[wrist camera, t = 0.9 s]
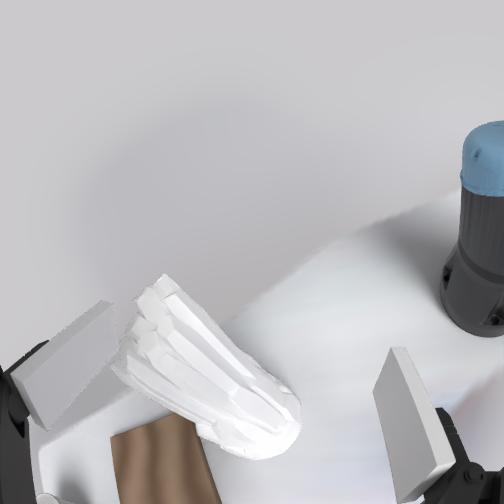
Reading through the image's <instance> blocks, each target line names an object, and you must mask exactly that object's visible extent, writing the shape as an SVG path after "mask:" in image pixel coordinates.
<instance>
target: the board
mask: <svg viewBox="0 0 504 504" xmlns="http://www.w3.org/2000/svg"><path fill="white" fill-rule="evenodd" d="M110 440H111V449H112V457H113V464H114V471H115V477H116V483H117V489H118V494H119V499H120V504H222V502H221V500H220V497H219V494H218V492H217V489H216V486H215V483H214V480H213V477H212V475H211V472H210V469H209V466H208V463H207V459H206V456H205V453H204V450H203V447H202V443H201V440H200V437H199V436H198V435H197V430H196V423H194V422H192V421H190V420H188V419H186V418H185V417H183V416H181V415H179V414H177V413H174V414H171V415H169V416H167V417H164V418H162V419H159V420H157V421H154V422H152V423H149V424H146V425H144V426H141V427H138V428H136V429H133V430H130V431H127V432H124V433H121V434H118V435H116V436H112V437H110Z"/></svg>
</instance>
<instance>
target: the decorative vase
mask: <svg viewBox="0 0 504 504" xmlns="http://www.w3.org/2000/svg"><path fill="white" fill-rule="evenodd" d="M133 302H134V304H135V305H136V307H137V308H138V310H139V312H138V313H136V315H135V316H134V317H133V318H132V319H131V321H130V322H129V324H128V327H127V330H126V332H125V333H126V336H125V337H124V338H123V339H122V340H121V341H120V342H119V346H120V356H121V360H117V361H114V362H112V363H111V364H109V366H110V368H111V369H112V370H113V371H114V373H115V374H116V375H117V376H118V377H119V378H120V380H121V381H123V382H124V383H126V384H127V385H129V386H130V387H132V388H134V389H135V390H137V391H138V392H140V393H142V394H143V395H145V396H147V397H148V398H150V399H152V400H154V401H155V402H157V403H159V404H161V405H162V406H164V407H166V408H168V409H170V410H171V411H173V412H175V413H177V414H179V415H181V416H183V417H185V418H186V419H188V420H190V421H192V422H194V423H196V430H197V435H198V436H200V437H202V438H204V439H207V440H209V441H212V442H215V443H217V444H218V445H219V446H220V448H222V449H224V450H225V451H227V452H229V453H231V454H234V455H237V456H240V457H243V458H247V459H256V460H261V459H267V458H270V457H273V456H276V455H279V454H282V453H284V451H286V450H287V449H288V448H289V447H290V446H291V445H292V443H293V442H294V441H295V440H296V438H297V436H298V435H299V433H300V431H301V428H302V409H301V403H300V401H299V399H298V398H297V397H296V396H295V395H294V394H293V393H292V391H291V390H290V389H289V388H288V387H287V386H286V385H285V384H284V383H282V382H281V381H280V380H279V379H277V378H275V377H274V376H272V375H271V374H269V373H267V372H266V371H264V370H263V369H262V368H261V367H260V366H259V364H258V363H257V362H256V361H255V360H254V359H253V358H252V357H251V356H250V355H248V354H247V353H245V352H244V351H242V350H241V349H239V348H238V347H237V346H236V345H235V344H234V343H233V342H232V341H231V340H230V338H229V337H228V336H227V335H226V334H225V333H224V332H223V331H222V329H221V328H220V327H219V326H218V325H217V324H216V323H215V322H214V320H213V319H212V318H211V317H210V316H209V315H208V313H207V312H206V311H205V310H204V309H203V308H202V307H201V306H199V305H198V304H197V303H196V302H194V301H193V300H192V299H191V298H190V297H189V296H188V295H187V294H186V293H185V292H184V291H183V290H182V289H181V288H180V287H179V286H178V285H177V284H176V283H175V282H174V281H173V280H172V279H171V278H170V277H169V276H167V275H166V274H163V275H162V276H161V277H160V278H159V279H158V280H157V282H156V283H155V284H153V285H150V287H146V288H145V289H144V290H143V291H142V292H141V294H140V295H139V296H137V297H135V298H133Z"/></svg>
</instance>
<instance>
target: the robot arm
mask: <svg viewBox="0 0 504 504" xmlns="http://www.w3.org/2000/svg"><path fill="white" fill-rule="evenodd" d="M460 178H461V183H462V191H461V214H460V227H459V238H458V242H457V243H456V245H455V247H454V249H453V251H452V252H451V254H450V256H449V258H448V259H447V261H446V263H445V265H444V268H443V272H442V278H441V285H440V294H441V299H442V303H443V306H444V308H445V310H446V312H447V313H448V315H449V316H450V318H451V319H452V320H453V321H454V322H455V323H456V324H457V325H458V326H459V327H461V328H462V329H463V330H465V331H467V332H469V333H471V334H473V335H477V336H481V337H498V336H502V335H504V121H496V122H490V123H487V124H484V125H481V126H479V127H477V128H475V129H474V130H472V131H471V132H470V133H469V135H468V136H467V137H466V139H465V141H464V145H463V157H462V170H461V173H460ZM119 349H120V346H119V340H118V334H117V328H116V320H115V313H114V305H113V303H110V302H105V301H100V302H98V303H97V304H96V305H95V306H93V307H92V308H91V309H90V310H88V311H87V312H85V313H84V314H83V315H82V316H80V317H79V318H78V319H76V320H75V321H74V322H73V323H71V324H70V325H69V326H67V327H66V328H65V329H64V330H62V331H61V332H60V333H59V334H58V335H56V336H55V337H54V338H52V339H51V340H50V341H49V340H47V341H44V342H42V343H40V344H38V345H37V346H35V347H34V348H33V349H32V350H31V351H29V352H28V353H27V354H25V356H23V357H22V358H21V359H19V360H18V361H17V362H16V363H15V364H13V365H12V366H11V367H10V368H9V369H7V370H6V371H5V372H3V370H2V368H1V366H0V504H37V501H36V496H35V490H34V483H33V476H32V467H31V457H30V441H29V422H28V419H27V417H28V416H29V415H31V416H32V418H33V420H34V422H35V423H36V424H37V425H39V426H40V427H42V428H43V429H45V430H46V431H49V430H50V428H51V427H52V426H53V425H54V423H55V422H56V421H57V420H58V419H59V418H60V416H61V415H62V414H63V413H64V412H65V411H66V409H67V408H68V407H69V406H70V405H71V404H72V402H73V401H74V400H75V399H76V398H77V397H78V395H79V394H80V393H81V392H82V391H83V390H84V389H85V387H86V386H87V385H88V384H89V383H90V382H91V381H92V379H93V378H94V377H95V376H96V375H97V374H98V373H99V372H100V370H101V369H102V368H103V367H104V366H105V365H106V364H107V363H108V361H109V360H110V359H111V358H112V357H113V356H114V355H115V354H116V353H117V351H118V350H119ZM373 395H374V399H375V403H376V406H377V410H378V414H379V418H380V422H381V427H382V431H383V435H384V439H385V444H386V448H387V453H388V458H389V462H390V467H391V472H392V478H393V483H394V489H395V494H396V500H397V504H401V503H407V502H412V501H415V500H417V499H418V498H419V497H420V496H421V495H422V494H424V499H425V500H424V501H423V502H422V503H421V504H504V467H503V468H502V469H501V470H500V471H498V472H496V471H495V472H494V471H484V469H483V468H482V466H480V465H479V464H477V463H474V462H470V461H469V459H468V456H467V454H466V451H465V449H464V447H463V444H462V442H461V440H460V437H459V435H458V434H457V430H456V429H455V427H454V424H453V421H452V419H451V417H450V415H449V414H448V413H447V412H446V411H445V410H444V409H443V408H442V407H441V408H434V406H433V403H432V401H431V399H430V397H429V395H428V393H427V390H426V388H425V386H424V384H423V382H422V380H421V378H420V376H419V374H418V372H417V370H416V368H415V366H414V364H413V362H412V360H411V358H410V356H409V354H408V352H407V350H406V348H403V347H391V348H390V351H389V353H388V356H387V358H386V361H385V363H384V366H383V368H382V371H381V373H380V375H379V378H378V380H377V382H376V384H375V387H374V389H373Z"/></svg>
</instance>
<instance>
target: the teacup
mask: <svg viewBox="0 0 504 504" xmlns="http://www.w3.org/2000/svg"><path fill="white" fill-rule="evenodd" d="M36 501H37V504H74V503H72V502H69V501H67V500H64V499H61V498H58V497H55V496H53V495H51V494H49V493H41V494H39V495H38V496H36Z"/></svg>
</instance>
